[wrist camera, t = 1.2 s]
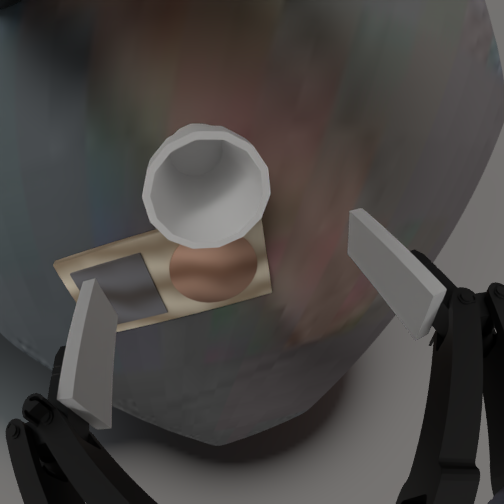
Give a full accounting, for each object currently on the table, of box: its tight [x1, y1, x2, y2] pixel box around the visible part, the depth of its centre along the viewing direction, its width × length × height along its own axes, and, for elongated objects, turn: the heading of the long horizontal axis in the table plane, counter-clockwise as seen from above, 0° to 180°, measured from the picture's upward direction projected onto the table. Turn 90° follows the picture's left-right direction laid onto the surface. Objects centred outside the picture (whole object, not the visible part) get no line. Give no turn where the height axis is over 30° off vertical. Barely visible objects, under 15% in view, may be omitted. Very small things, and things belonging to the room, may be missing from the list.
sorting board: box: [53, 219, 272, 332], centre depth 39 cm, size 15×29×1 cm, turn 99°
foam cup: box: [142, 124, 271, 249], centre depth 26 cm, size 10×9×13 cm
